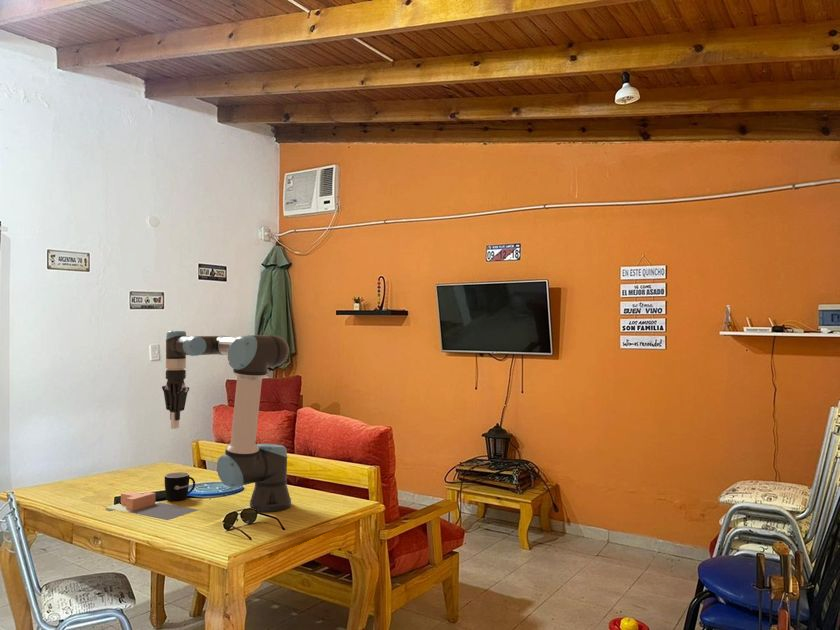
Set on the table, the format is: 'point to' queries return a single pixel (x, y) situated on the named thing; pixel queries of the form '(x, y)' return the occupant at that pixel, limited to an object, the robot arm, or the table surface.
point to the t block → (137, 500)
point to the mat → (156, 510)
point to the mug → (177, 486)
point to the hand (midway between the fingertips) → (174, 428)
